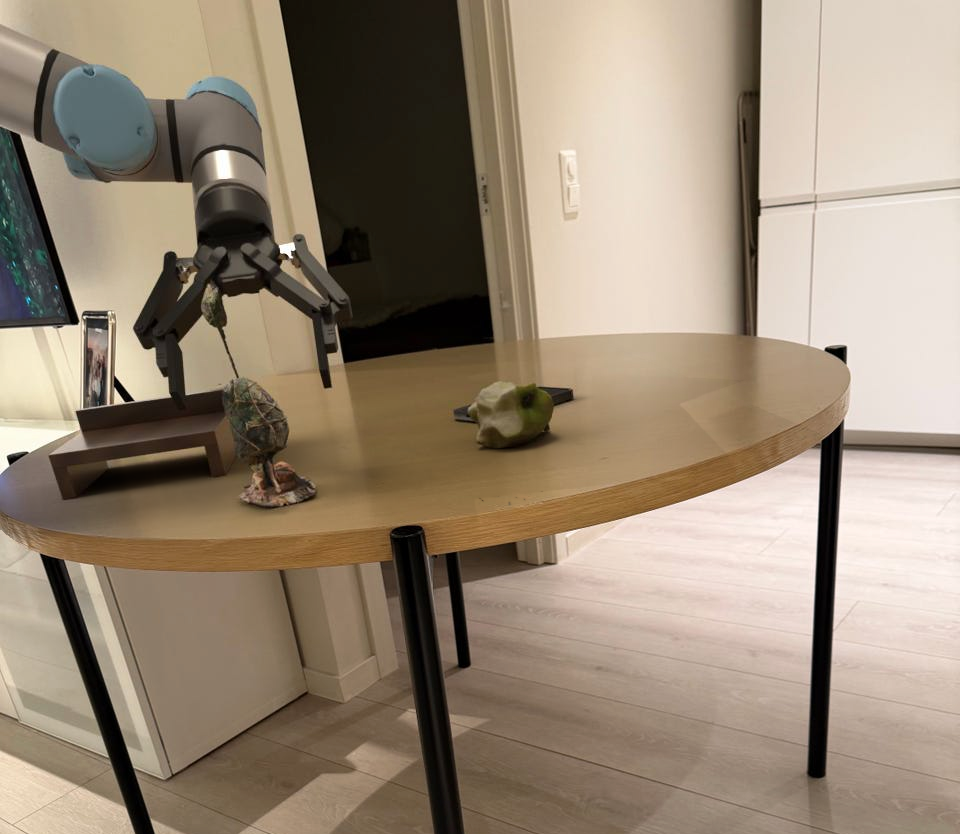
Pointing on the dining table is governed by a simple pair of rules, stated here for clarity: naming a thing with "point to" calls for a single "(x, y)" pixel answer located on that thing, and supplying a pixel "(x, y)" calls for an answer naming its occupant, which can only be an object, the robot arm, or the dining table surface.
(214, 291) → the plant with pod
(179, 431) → the bench
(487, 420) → the fruit
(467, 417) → the phone
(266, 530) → the dining table surface
